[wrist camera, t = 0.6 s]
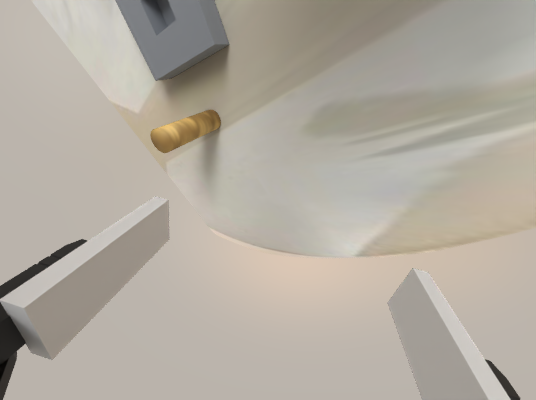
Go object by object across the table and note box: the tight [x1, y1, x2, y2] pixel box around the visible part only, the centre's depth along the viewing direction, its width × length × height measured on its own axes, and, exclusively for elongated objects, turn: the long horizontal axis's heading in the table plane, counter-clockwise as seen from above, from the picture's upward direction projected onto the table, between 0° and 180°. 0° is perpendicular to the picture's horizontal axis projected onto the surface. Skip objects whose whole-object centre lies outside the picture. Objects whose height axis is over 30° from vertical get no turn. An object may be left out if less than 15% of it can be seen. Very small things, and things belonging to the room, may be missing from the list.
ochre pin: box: [151, 110, 221, 153], centre depth 40 cm, size 4×4×14 cm
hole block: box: [115, 0, 229, 81], centre depth 35 cm, size 16×16×4 cm
